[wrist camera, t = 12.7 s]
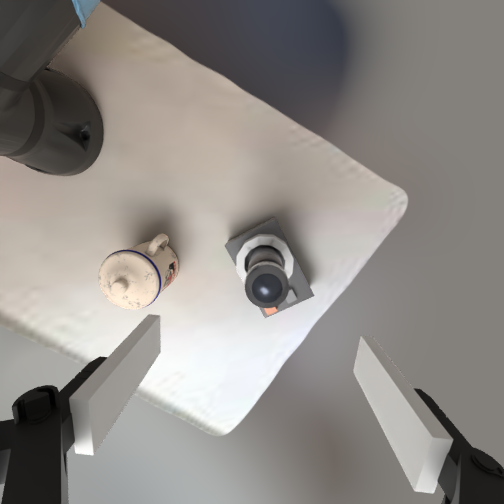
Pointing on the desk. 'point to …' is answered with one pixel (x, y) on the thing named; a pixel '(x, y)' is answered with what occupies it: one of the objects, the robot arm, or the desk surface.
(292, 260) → the camera body
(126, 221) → the desk surface
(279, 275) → the grey flashlight
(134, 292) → the teacup with lid
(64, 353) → the desk surface
